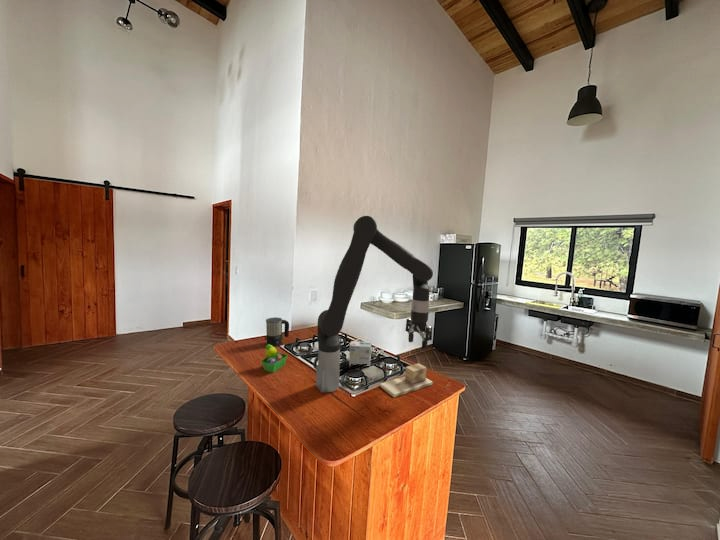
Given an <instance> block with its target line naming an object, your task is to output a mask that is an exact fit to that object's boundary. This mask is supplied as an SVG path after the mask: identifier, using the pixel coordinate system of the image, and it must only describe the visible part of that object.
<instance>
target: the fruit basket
mask: <svg viewBox="0 0 720 540" xmlns="http://www.w3.org/2000/svg"><path fill="white" fill-rule="evenodd" d="M264 354H265V355H264V356H265V358H263V359H261V361H260V362H261V363H262V367H263V370H264V371H265V372H270V373H274V372H277V371H278V370H279V369H281V368H282V367H284V366H285V365H286V362H287V361H286V360H287V359H288V354H285V353H282V352H278V350H277V349H276V347H275V346H274V347H273V346H272V345H270V344H268V345H266V346H265V353H264Z"/></svg>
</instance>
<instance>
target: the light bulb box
mask: <svg viewBox="0 0 720 540" xmlns="http://www.w3.org/2000/svg"><path fill="white" fill-rule="evenodd" d="M348 358H349V361H348V365H349V366H351V364H355V363H356V364H367V365H368V366H370V367H371V362H370V361H372V359H371V358H372V342H371V341H358V340H356V341H354V340H351V341H350V344H349V357H348Z"/></svg>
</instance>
